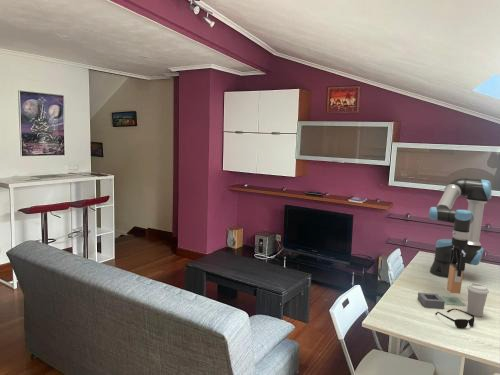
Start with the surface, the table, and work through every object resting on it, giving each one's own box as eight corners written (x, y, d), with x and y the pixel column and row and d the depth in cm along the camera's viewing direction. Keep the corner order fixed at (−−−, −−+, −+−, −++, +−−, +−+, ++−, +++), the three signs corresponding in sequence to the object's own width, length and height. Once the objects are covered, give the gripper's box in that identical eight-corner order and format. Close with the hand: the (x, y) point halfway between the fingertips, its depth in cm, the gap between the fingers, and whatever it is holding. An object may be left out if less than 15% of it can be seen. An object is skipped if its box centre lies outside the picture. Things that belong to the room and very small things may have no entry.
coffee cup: (482, 311, 195) (486, 284, 193) (487, 319, 186) (491, 291, 184) (462, 308, 198) (465, 281, 196) (466, 316, 189) (469, 288, 187)
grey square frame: (417, 299, 207) (418, 292, 206) (436, 300, 206) (436, 293, 206) (424, 307, 197) (425, 300, 196) (443, 309, 196) (444, 301, 196)
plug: (446, 289, 208) (450, 263, 206) (455, 290, 208) (459, 264, 206) (450, 293, 203) (454, 266, 201) (460, 293, 203) (463, 267, 201)
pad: (439, 296, 212) (439, 296, 212) (457, 297, 211) (457, 297, 211) (446, 304, 202) (446, 303, 202) (466, 305, 201) (466, 305, 201)
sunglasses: (458, 331, 175) (460, 321, 174) (430, 315, 189) (431, 306, 188) (478, 326, 180) (479, 316, 179) (449, 311, 194) (450, 302, 194)
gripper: (445, 233, 211) (440, 273, 214) (460, 242, 193) (455, 285, 196) (459, 234, 210) (454, 274, 213) (476, 243, 192) (470, 286, 195)
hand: (454, 279), depth 205 cm, fingers closed on plug, 5 cm apart
